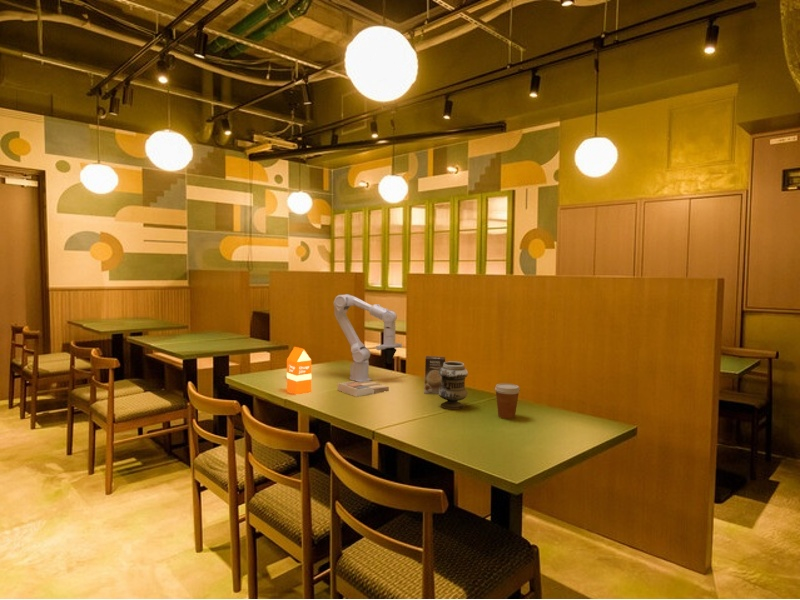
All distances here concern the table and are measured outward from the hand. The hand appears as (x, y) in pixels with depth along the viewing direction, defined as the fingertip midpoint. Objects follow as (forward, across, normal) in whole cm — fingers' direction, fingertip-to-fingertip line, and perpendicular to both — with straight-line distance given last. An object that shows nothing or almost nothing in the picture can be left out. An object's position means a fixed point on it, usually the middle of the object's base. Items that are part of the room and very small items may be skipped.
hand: (389, 363), depth 252 cm
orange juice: (+10, -44, +10) cm, 46 cm away
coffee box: (+10, +4, -28) cm, 30 cm away
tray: (+9, -24, -6) cm, 27 cm away
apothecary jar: (+10, -6, -49) cm, 50 cm away
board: (+9, -15, -6) cm, 19 cm away
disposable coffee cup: (+10, 0, -72) cm, 73 cm away
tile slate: (+9, -22, -9) cm, 26 cm away
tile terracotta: (+9, -22, -3) cm, 24 cm away
